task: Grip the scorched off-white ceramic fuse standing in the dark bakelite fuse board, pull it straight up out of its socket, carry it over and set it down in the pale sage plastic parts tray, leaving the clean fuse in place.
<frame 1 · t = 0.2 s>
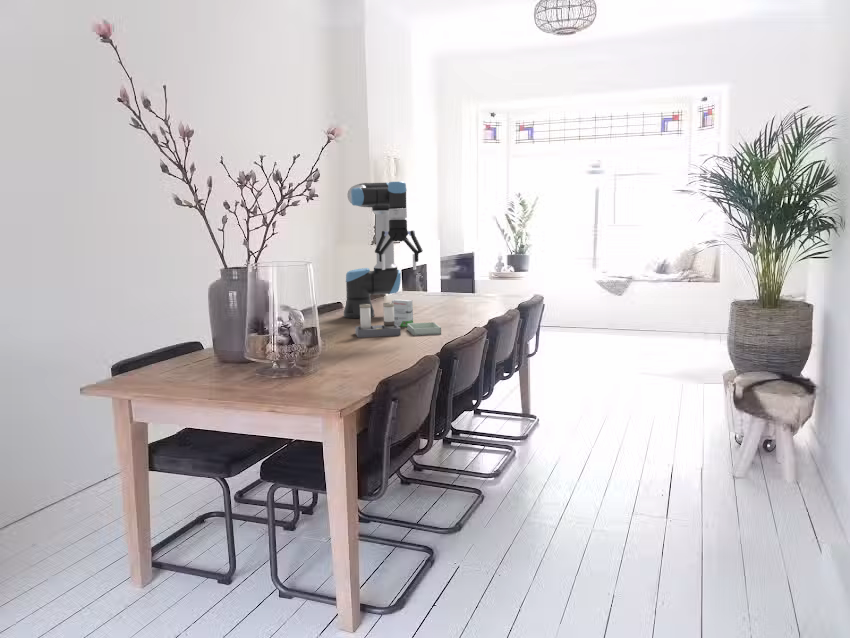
hand: (399, 269, 299), 27 cm above the table, fingers open, 13 cm apart
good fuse: (366, 335, 298), resting in fuse board
blown fuse: (389, 333, 300), resting in fuse board
fuse board: (377, 334, 299), on the table
ink box: (402, 326, 319), on the table
parts tray: (423, 331, 303), on the table
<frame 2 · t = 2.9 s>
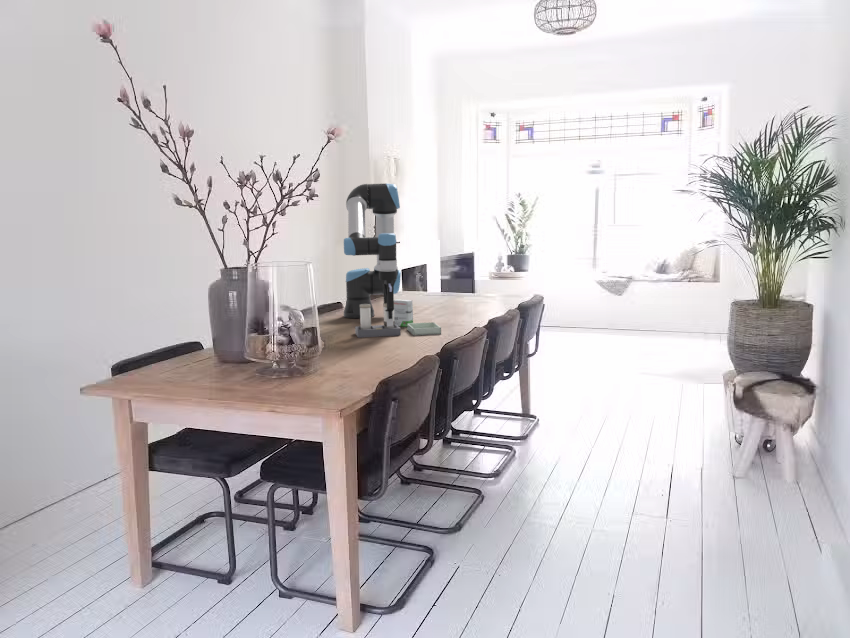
hand: (389, 325, 300), 4 cm above the table, fingers closed on blown fuse, 4 cm apart
blown fuse: (389, 333, 300), resting in fuse board, touching gripper
everything else where it was.
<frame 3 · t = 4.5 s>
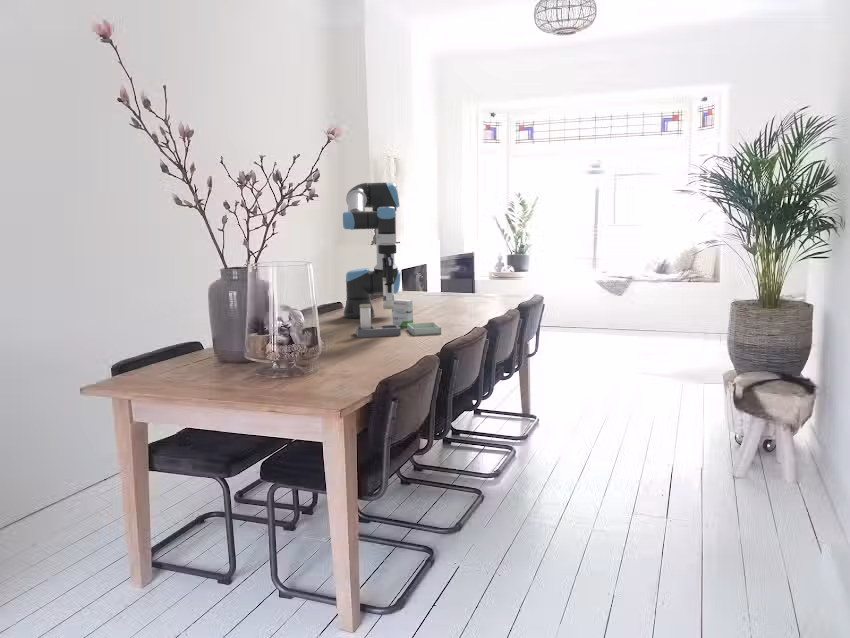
hand: (388, 299, 298), 15 cm above the table, fingers closed on blown fuse, 4 cm apart
blown fuse: (388, 308, 299), point 11 cm above the table, touching gripper
everything else where it was.
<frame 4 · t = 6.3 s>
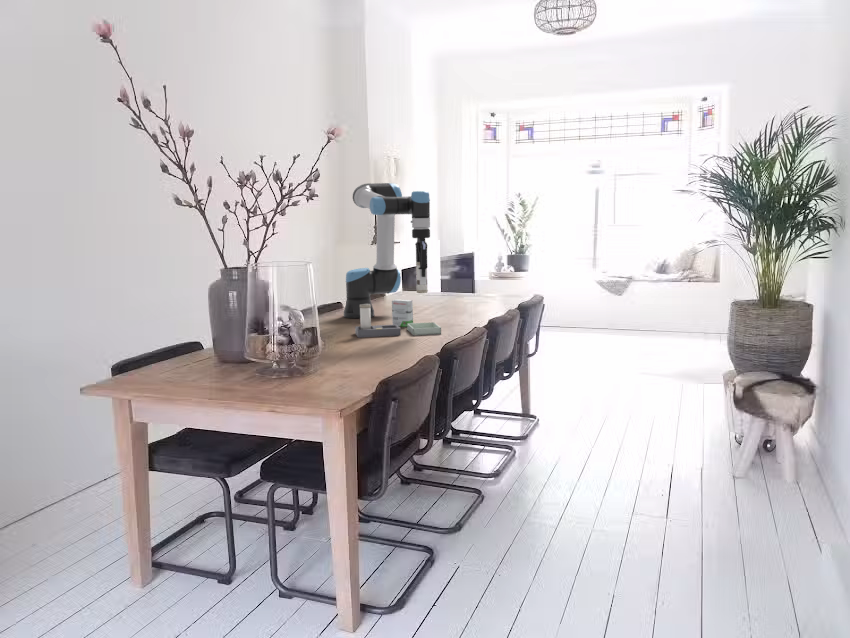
hand: (421, 283, 300), 21 cm above the table, fingers closed on blown fuse, 4 cm apart
blown fuse: (422, 292, 300), point 17 cm above the table, touching gripper
everything else where it was.
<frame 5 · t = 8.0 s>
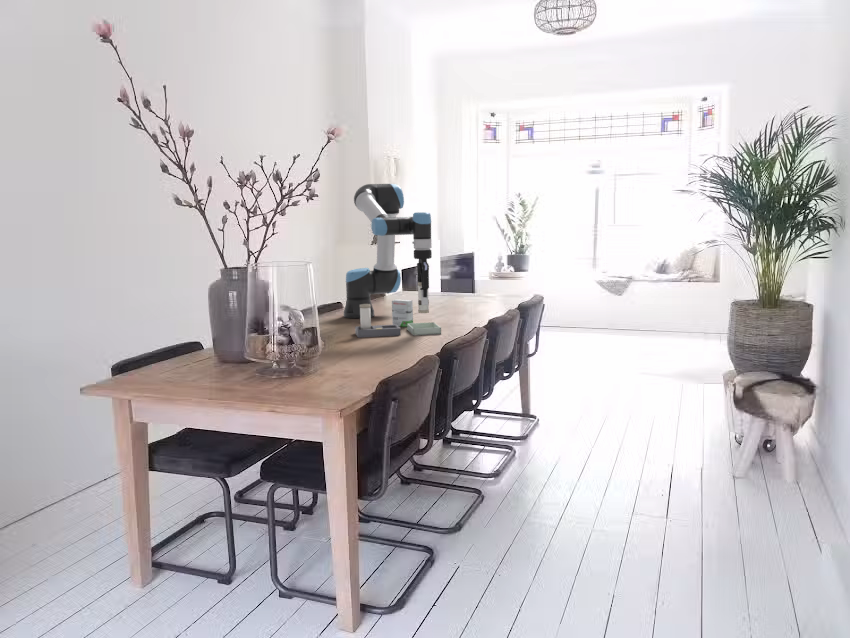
hand: (423, 303, 301), 12 cm above the table, fingers closed on blown fuse, 4 cm apart
blown fuse: (423, 312, 302), point 8 cm above the table, touching gripper
everything else where it was.
when the fingers open (5 cm above the table, at t = 9.5 s): blown fuse stays where it is, resting on parts tray.
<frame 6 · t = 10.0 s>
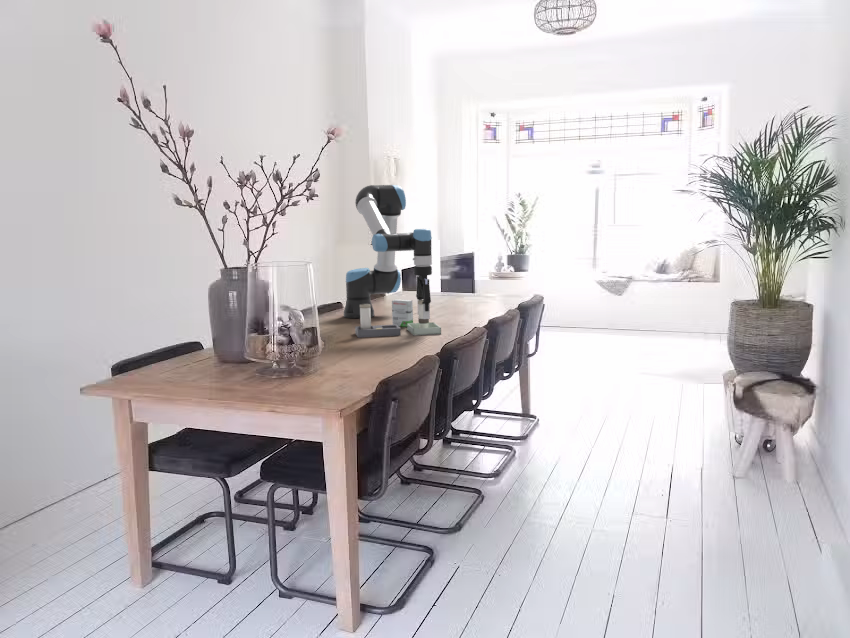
hand: (423, 316, 302), 7 cm above the table, fingers open, 11 cm apart
blown fuse: (423, 330, 303), resting on parts tray
everything else where it was.
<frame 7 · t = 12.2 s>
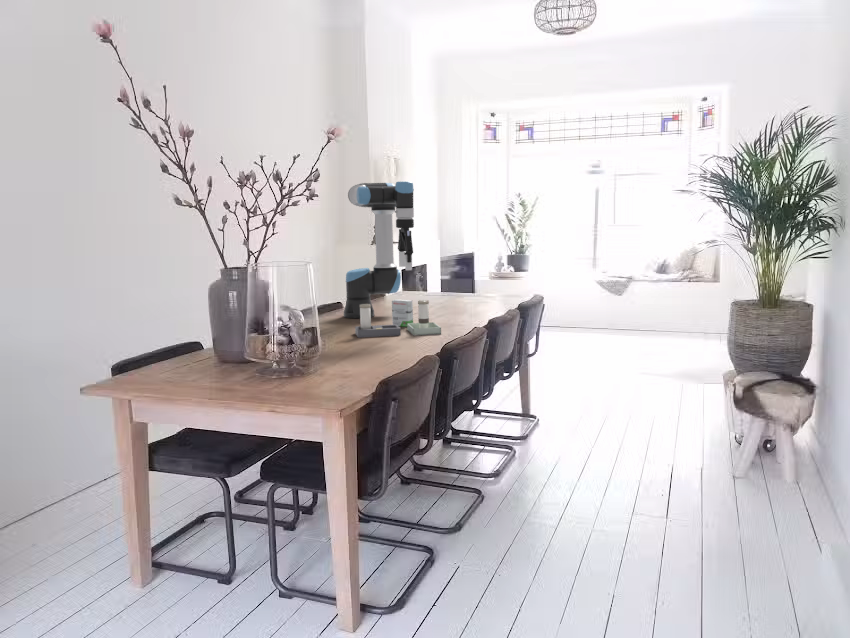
hand: (405, 268, 303), 27 cm above the table, fingers open, 13 cm apart
nothing on the table moved.
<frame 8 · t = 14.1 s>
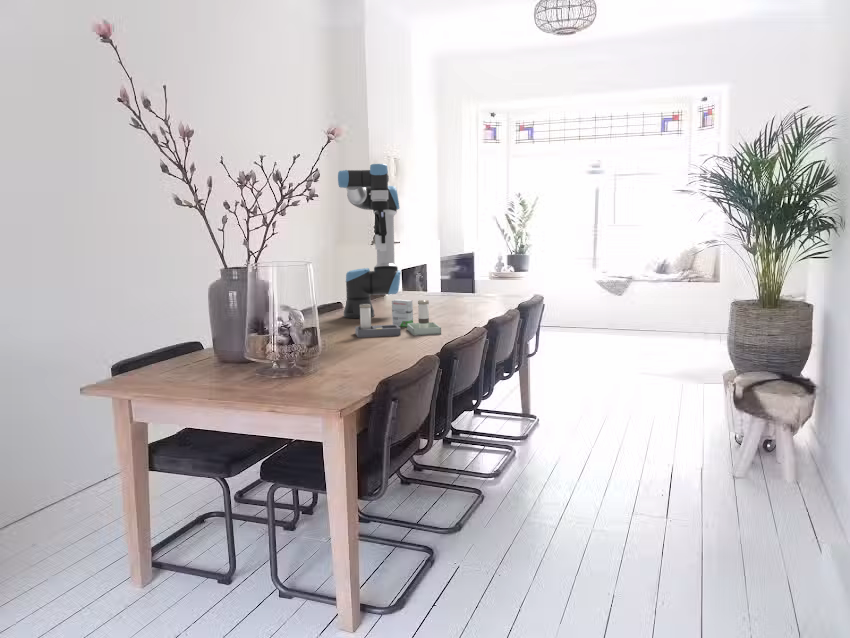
hand: (380, 250, 306), 35 cm above the table, fingers open, 13 cm apart
nothing on the table moved.
at the end: blown fuse inside the target area on the parts tray (0.0 cm from its centre), point 0.5 cm above the parts tray's base; the gripper is holding nothing; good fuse moved 0.0 cm from its start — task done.
